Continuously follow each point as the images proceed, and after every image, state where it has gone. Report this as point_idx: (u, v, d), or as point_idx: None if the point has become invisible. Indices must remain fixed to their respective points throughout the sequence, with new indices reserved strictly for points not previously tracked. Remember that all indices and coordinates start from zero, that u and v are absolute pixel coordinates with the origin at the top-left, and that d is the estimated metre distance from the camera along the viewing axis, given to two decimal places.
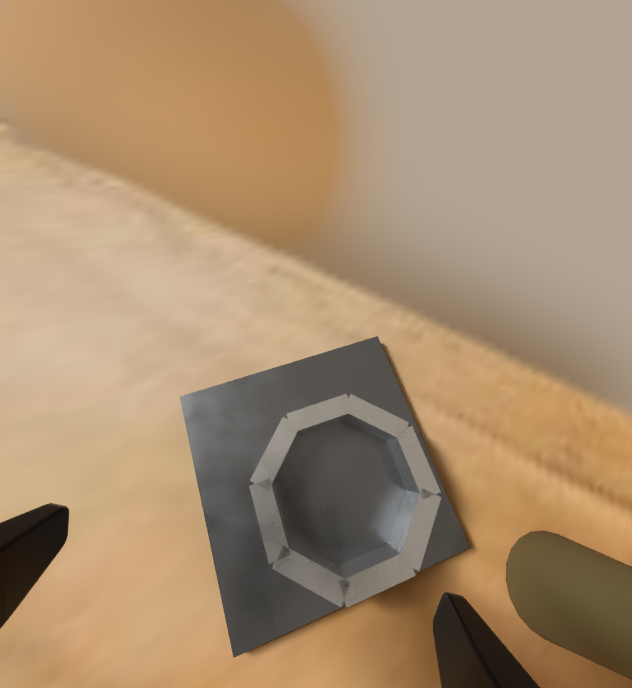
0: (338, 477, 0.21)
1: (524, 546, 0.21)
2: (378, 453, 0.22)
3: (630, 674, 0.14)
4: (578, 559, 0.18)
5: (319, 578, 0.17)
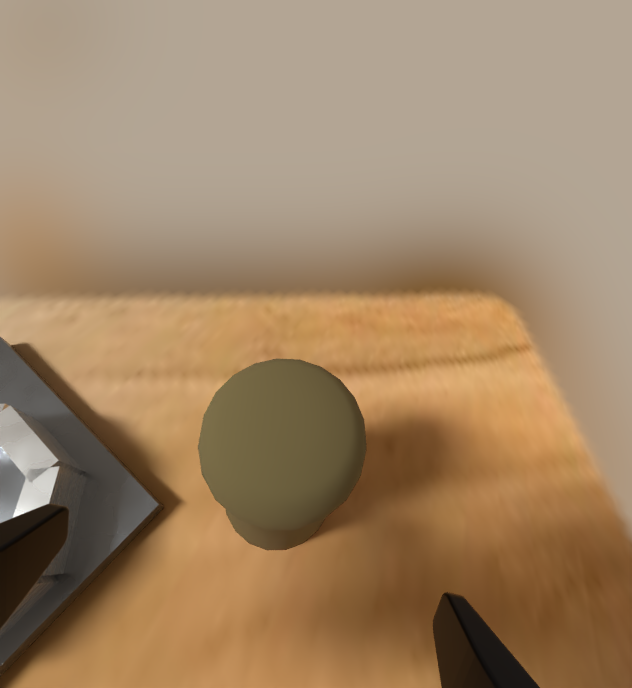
0: None
1: None
2: (10, 464, 0.16)
3: None
4: None
5: None
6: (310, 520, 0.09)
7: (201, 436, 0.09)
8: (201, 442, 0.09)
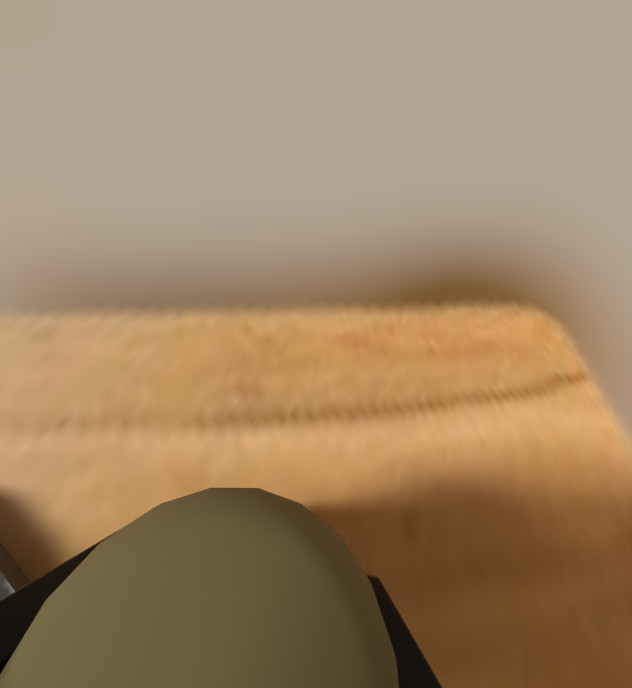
0: None
1: None
2: None
3: None
4: None
5: None
6: None
7: None
8: None
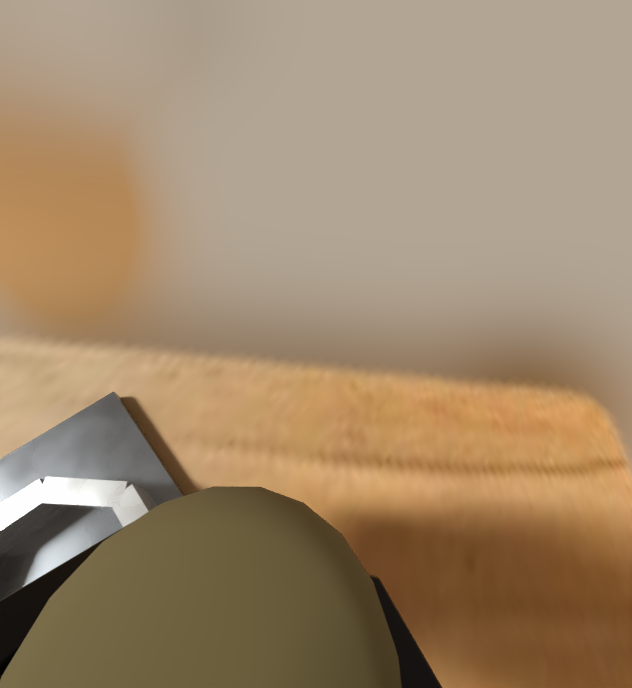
0: None
1: None
2: None
3: None
4: None
5: None
6: None
7: None
8: None
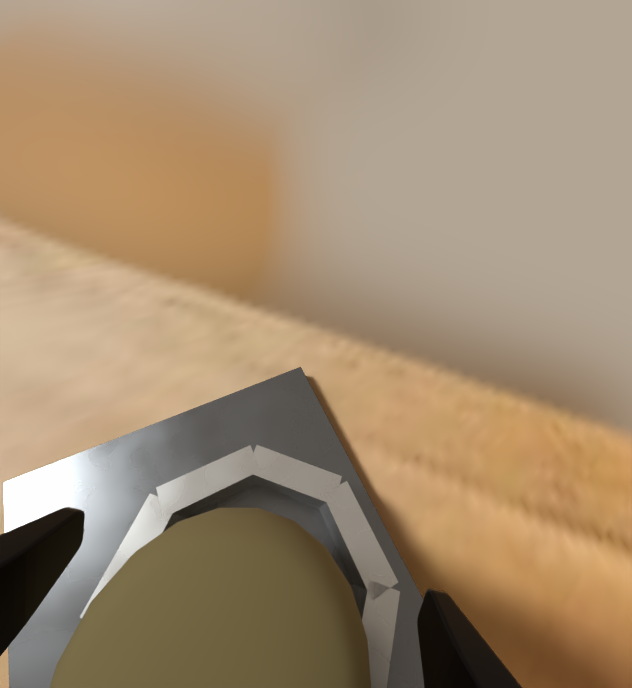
0: None
1: None
2: (309, 529, 0.15)
3: None
4: None
5: None
6: None
7: None
8: None
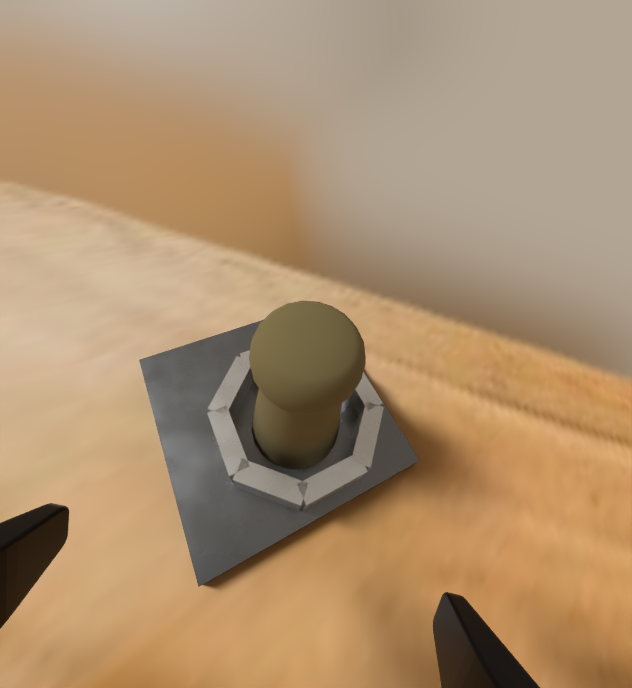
0: None
1: None
2: None
3: (293, 426, 0.16)
4: None
5: (278, 483, 0.18)
6: (328, 401, 0.13)
7: (253, 348, 0.13)
8: (253, 352, 0.13)
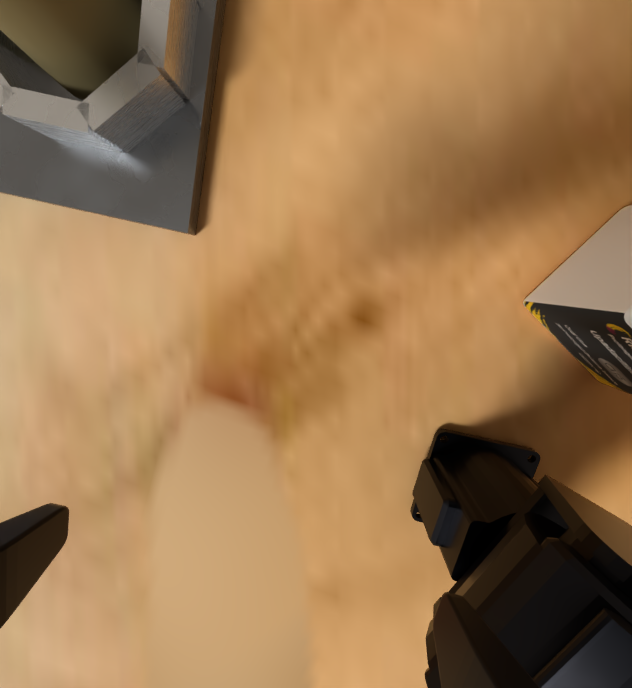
0: None
1: None
2: None
3: None
4: None
5: (124, 83, 0.14)
6: None
7: None
8: None
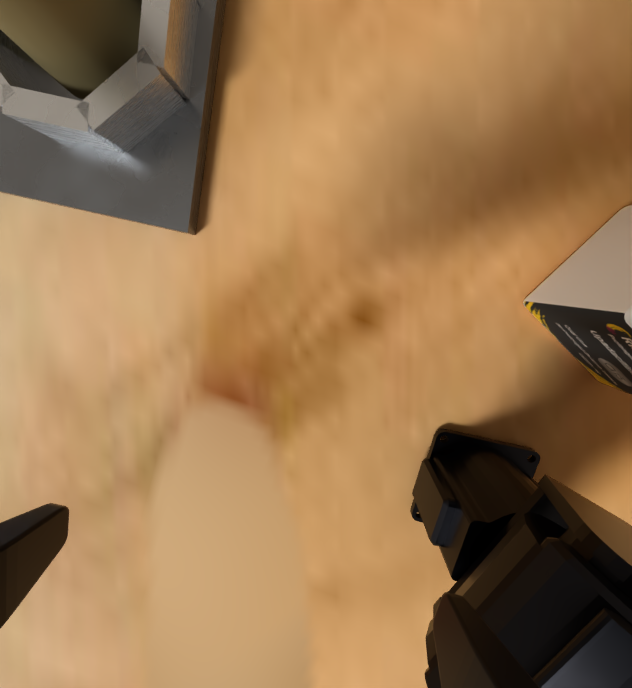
0: None
1: None
2: None
3: None
4: None
5: (124, 82, 0.14)
6: None
7: None
8: None
